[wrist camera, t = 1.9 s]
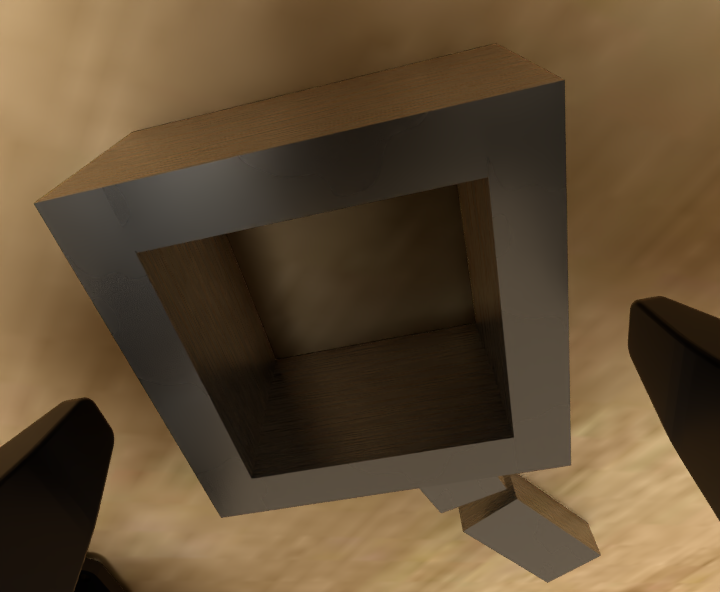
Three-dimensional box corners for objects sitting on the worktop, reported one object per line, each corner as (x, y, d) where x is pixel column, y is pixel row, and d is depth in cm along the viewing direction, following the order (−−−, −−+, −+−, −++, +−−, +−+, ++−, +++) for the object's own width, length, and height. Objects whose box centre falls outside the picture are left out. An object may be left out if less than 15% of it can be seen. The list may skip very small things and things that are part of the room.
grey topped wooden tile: (495, 448, 15) (506, 489, 14) (434, 472, 16) (441, 513, 15) (432, 359, 14) (439, 396, 12) (366, 389, 14) (367, 428, 13)
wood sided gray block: (584, 514, 17) (601, 555, 16) (535, 541, 18) (547, 582, 17) (505, 458, 16) (516, 498, 14) (455, 490, 16) (463, 531, 15)
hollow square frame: (520, 347, 13) (570, 465, 10) (251, 395, 14) (221, 517, 11) (496, 43, 9) (564, 79, 6) (131, 132, 10) (33, 203, 7)
